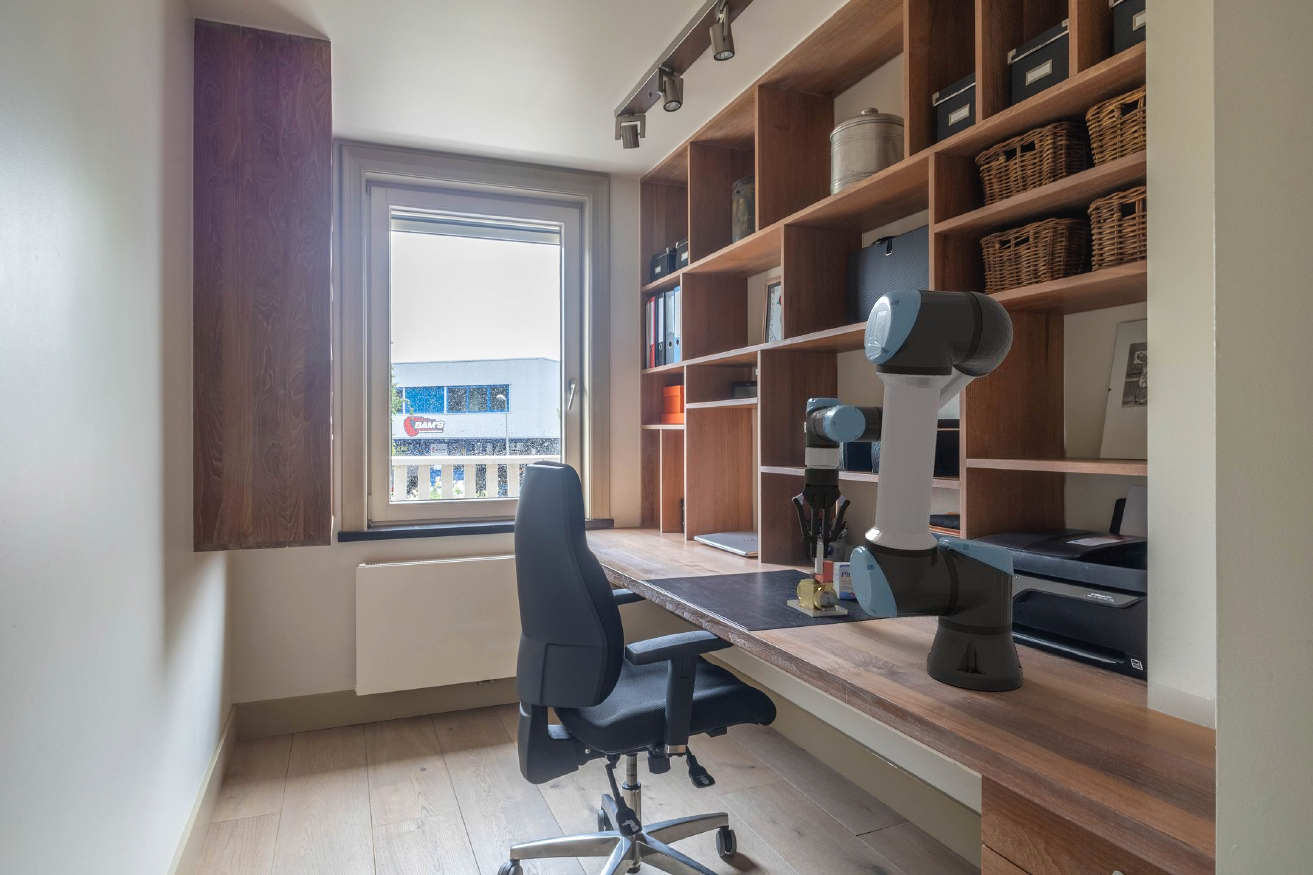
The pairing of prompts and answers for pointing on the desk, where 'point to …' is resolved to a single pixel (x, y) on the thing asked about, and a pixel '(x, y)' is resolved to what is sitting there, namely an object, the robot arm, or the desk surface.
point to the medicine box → (843, 581)
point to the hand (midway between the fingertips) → (818, 572)
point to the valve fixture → (816, 599)
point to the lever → (824, 573)
